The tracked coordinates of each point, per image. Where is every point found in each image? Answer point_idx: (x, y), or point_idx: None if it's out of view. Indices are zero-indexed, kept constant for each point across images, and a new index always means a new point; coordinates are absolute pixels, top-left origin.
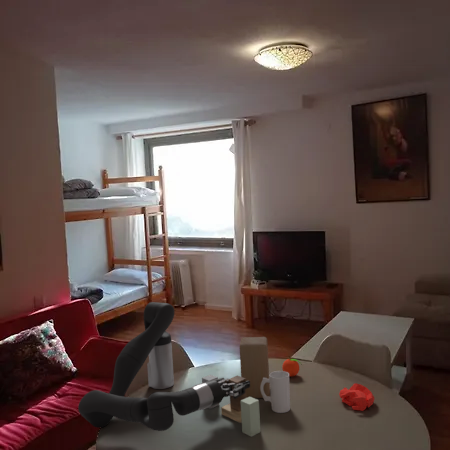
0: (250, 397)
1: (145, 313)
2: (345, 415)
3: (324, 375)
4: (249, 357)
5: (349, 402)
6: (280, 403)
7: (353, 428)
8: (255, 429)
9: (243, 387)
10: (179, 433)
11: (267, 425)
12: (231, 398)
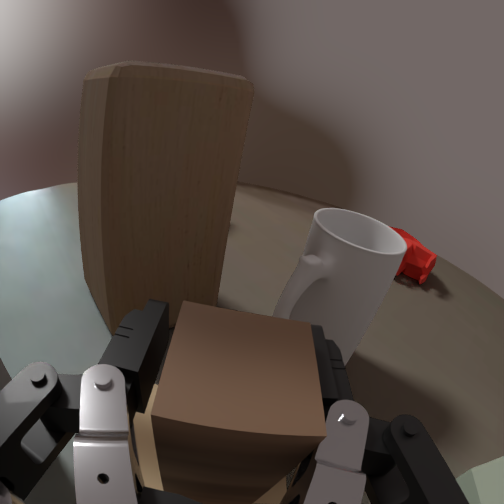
0: (482, 471)
1: None
2: (430, 305)
3: (249, 204)
4: (164, 142)
5: (399, 268)
6: (353, 349)
7: (478, 334)
8: None
9: (427, 446)
10: None
11: None
12: (181, 485)
